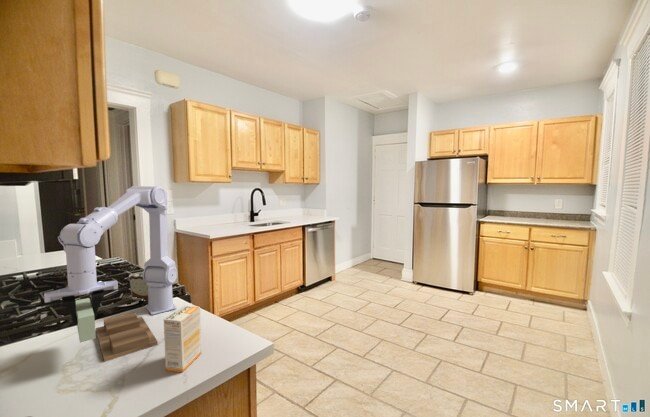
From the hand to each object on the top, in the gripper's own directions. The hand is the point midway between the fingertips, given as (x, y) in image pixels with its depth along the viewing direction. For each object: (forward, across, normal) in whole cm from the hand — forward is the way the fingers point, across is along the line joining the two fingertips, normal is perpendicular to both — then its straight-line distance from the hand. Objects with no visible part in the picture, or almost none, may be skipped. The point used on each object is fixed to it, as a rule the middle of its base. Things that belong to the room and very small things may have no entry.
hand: (85, 321), depth 77 cm
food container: (+9, +21, +31) cm, 39 cm away
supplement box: (+9, +18, -20) cm, 28 cm away
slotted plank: (+9, +9, +3) cm, 13 cm away
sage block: (+2, 0, 0) cm, 2 cm away
